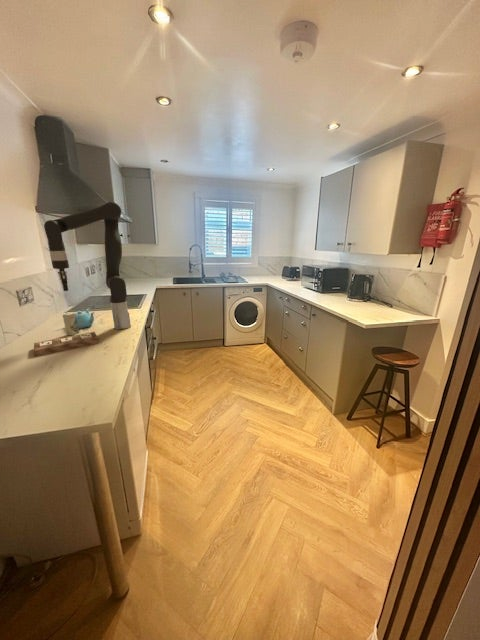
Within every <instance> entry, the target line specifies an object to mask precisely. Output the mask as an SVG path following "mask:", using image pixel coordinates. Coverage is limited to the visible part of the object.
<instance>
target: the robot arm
mask: <svg viewBox="0 0 480 640" xmlns="http://www.w3.org/2000/svg"><path fill="white" fill-rule="evenodd" d="M121 215H122V208H121V206H120V205H119V204H118V203H116V202H114V201H108V202H105V204H102V205H100V206H98V207H96V208H93V209H89V210H85V211H82V212H81V211H80V212H75V213H73V214H69V215H65V216H63V217H59V218H57V219H48V220H46V221H45V222H44V224H43V227H44V231H45V235H46V238H47V245H48V249H49V257H50V261H51V265H52V268H53V269H55V270H58V271H57V274H58V276H59V280H60V282H61V285H62V288H63V292H67V291H69V287H68V286H69V285H68V280H69V279H68V276H67V275H68V271H65V269H69V268H70V265H69V259H68V254H67V252H66V247H65V243H64V241H63V235H62V233H65V232H67V231H71V230H75V229H80V228H82V227H85V226H89V225H90V224H94V223H96V222H99V221H104V253H105V255H104V256H105V265H106V272H105V273H106V275H105V276H106V277H105V284H106V287H107V288H108V289H109V290H110V298H109V301H110V308H111V313H112V319H113V320H112V321H113V326H114V329H115V330H124V329H128V328H131V327H132V325H131V316H130V312H129V310H128V304H127V303H128V302H127V297H128V294H127V286H126V281H125V280H124V278H123V277H121V274H120V267H121V266H120V265H121V261H122V256H123V246H122V239H121V235H120V234H121V233H120V230H119V218H120V216H121Z"/></svg>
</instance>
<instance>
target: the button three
mask: <svg viewBox="0 0 480 640" xmlns="http://www.w3.org/2000/svg"><path fill="white" fill-rule="evenodd" d="M84 334H85V333H84ZM79 335H80V334H79ZM80 337H81V339H85V338H90V337H92V336H91V334H85V335H80Z"/></svg>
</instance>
